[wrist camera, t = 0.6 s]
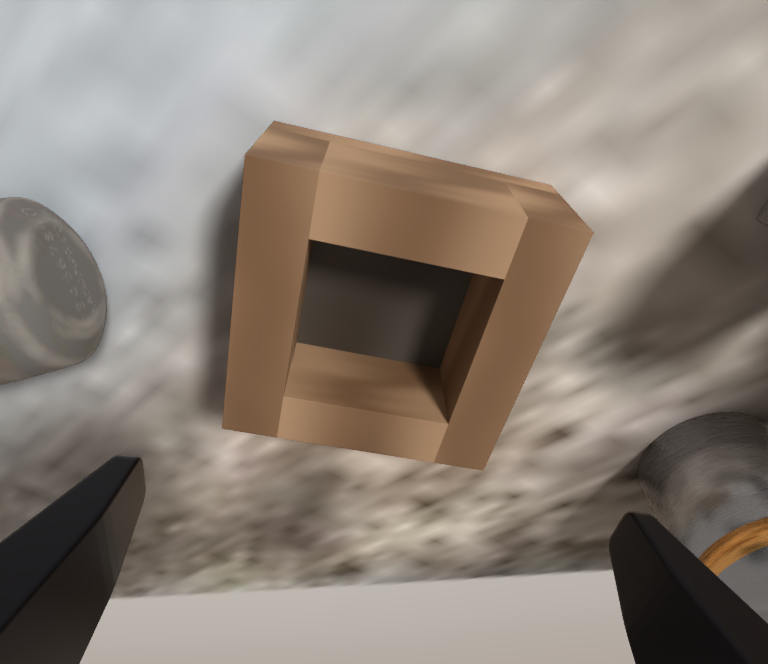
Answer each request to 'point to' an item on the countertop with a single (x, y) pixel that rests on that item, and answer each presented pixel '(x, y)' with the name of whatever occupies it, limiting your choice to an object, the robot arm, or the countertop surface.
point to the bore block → (389, 296)
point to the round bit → (715, 496)
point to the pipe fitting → (45, 293)
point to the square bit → (764, 214)
